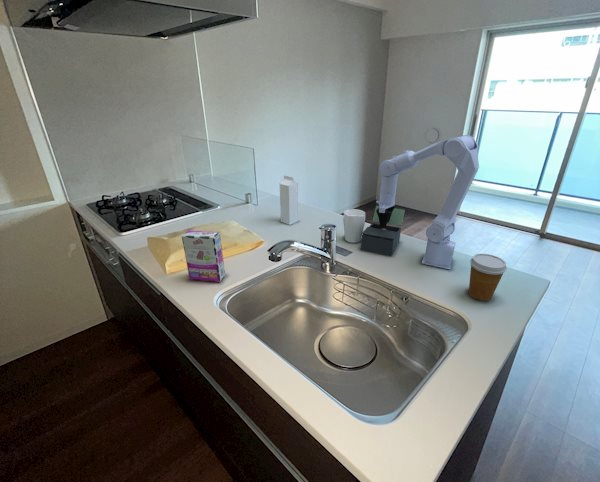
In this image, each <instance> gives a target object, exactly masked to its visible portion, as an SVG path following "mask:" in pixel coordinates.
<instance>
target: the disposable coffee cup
mask: <svg viewBox="0 0 600 482" xmlns="http://www.w3.org/2000/svg"><path fill="white" fill-rule="evenodd" d="M469 263H470V273H469V283H468V295H469V296H470V297H472V298H473V299H476V300H479V301H483V302H486V301H487V302H488V301H490V300H492V298H493V296H494V294H495V292H496V290H497V288H498V286H499V284H500V281H501V279H502V277H503V275H504V273H505V272H506V271H507V270H508V266H507V262H506V260H504V258H502V257H500V256H497V255H495V254H494V255H493V254H489V253H477V254H474V255H473V256H472V258H470V260H469Z"/></svg>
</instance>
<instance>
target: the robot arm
mask: <svg viewBox="0 0 600 482" xmlns="http://www.w3.org/2000/svg"><path fill="white" fill-rule="evenodd" d="M479 147H480V146H479V144H478V143H477V141H476V140H475V138H474V137H473V136H471V135H470V134H464V135H460V136H458V137H451V138H449V139H445V140H441V141H437V142H435V143H433V144H430V145H429V146H427V147H424V148H422V149H419V150H418V151H414V150H408V149H407V150H404V151H403V152H402V154H399V155H397V156H396V155H394V156H392V157H391V159H385V160H384V161H382V162H381V163H380V165H379V172H380V174H381V181H380V182H381V183H380V191H379V200H376V203H375V204H378V206H379V207H380V208H379V209H378V208H377V210H376V212H377V214H378V217H379V222H378V224H380V227H386V225H388V224H387V223H389V221H390V218H391V214H392V212H393V210H394V208H395V209H396V207H397V204H396V195H397V194H396V193H397V184H398V178H399V174H400V173H401V172H405V171H407V170H410V169H412V168H415V167H417V165H418V164H419V162H420V161H422V160H425V159H428V158H431V157H433V156H436V155H438V156H445V157H446V158H447V159H448V160H449V161H450V162H451V163H452V164H454V166H455V168H456V170H457V173H456V175H455V177H454V179H453V181H452V184H451V186H450V188H449V191H448V193H447V195H446V198H445V199H444V202H443V204H442V207H441V208H440V211H439V213H438V214H437V216H435V218H434V219H433V221H432V223H431V224H430V225H429V226H428V227H427V228H426V230H425V235H426V238H427V241H426V247H425V252H424V255H423V257H422V260H421V264H422V265H426V266H430V267H437V268H441V269H446V270H451V266H452V263H453V262H454V253H455V247H456V241H452V240H451V235H452V234H454V232H455V230H456V226H455V224H456V221H457V218H456V216H457V214H458V212H459V210H460V208H461V206H462V204H463V202H464V200H465V198H466V196H467V193H468V191H469V190H470V188H471V186H472V183H473V181H474V180H475V177H476V175H477V173H478V171H479V168H480V164H479V154H478V153H479V151H478V150H479Z"/></svg>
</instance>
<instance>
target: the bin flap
mask: <svg viewBox="0 0 600 482" xmlns="http://www.w3.org/2000/svg"><path fill="white" fill-rule="evenodd" d="M377 208H378V209H379V208H380V207H379V205H375V208H374V213H373V217H372V223H379V217H378V214H377V212H376V210H377ZM405 213H406V209H402V208H396V207H395V208H394V210H393V212H392V214H391V218H390V221H389V223H387V224H386V225H390V226H396V227H402V225H403V221H404V216H405Z"/></svg>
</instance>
